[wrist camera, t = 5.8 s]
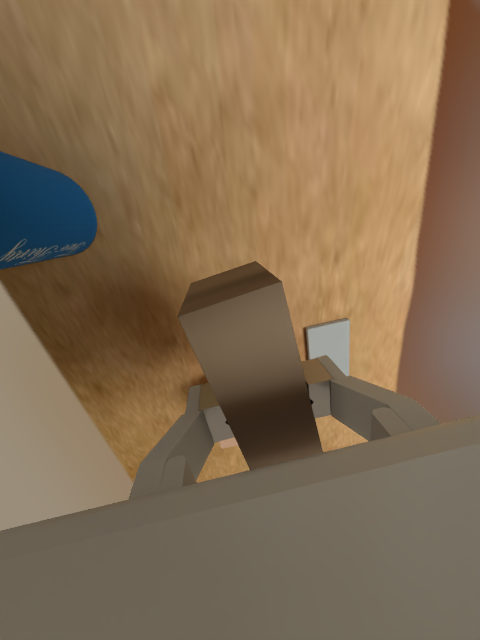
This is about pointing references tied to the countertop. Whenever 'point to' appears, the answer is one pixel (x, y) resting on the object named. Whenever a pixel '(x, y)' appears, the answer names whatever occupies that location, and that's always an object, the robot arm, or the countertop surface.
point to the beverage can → (41, 214)
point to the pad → (330, 342)
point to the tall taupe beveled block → (252, 363)
